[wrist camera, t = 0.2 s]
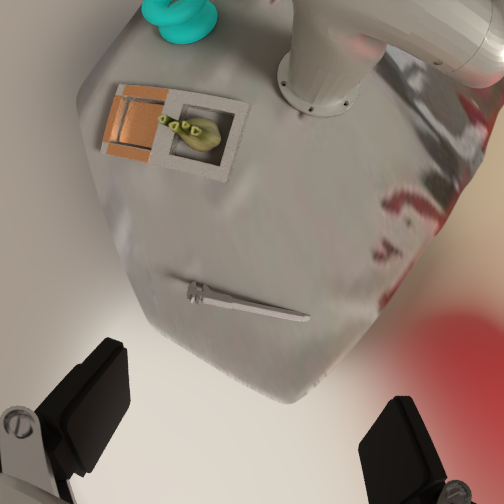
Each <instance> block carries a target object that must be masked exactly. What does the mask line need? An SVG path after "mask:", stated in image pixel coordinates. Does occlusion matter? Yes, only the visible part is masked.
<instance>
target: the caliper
mask: <svg viewBox="0 0 504 504" xmlns="http://www.w3.org/2000/svg"><path fill="white" fill-rule="evenodd" d="M187 299H190V300H191V302H190V303H193V302H194V301H196V303H197V304H198V305H199V303H200V301H202V303H206V304H210V305H215V306H219V307H224V308H229V309H231V308H235V309H239V310H244V311H249V312H253V313H258V314H263V315H268V316H273V317H278V318H284V319H289V320H294V321H300V322H303V321H309V319H310V317H311V316H310V315H304V314H303V313H299V312H296V311H291V310H286V309H281V308H276V307H271V306H266V305H261V304H256V303H252V302H247V301H243V300H238V299H234V298H232V297H231V296H230V295H224V294H221V293H212V292H211V291H210V289H209V288H208V286H207V284H203V288H202V291H199V290H196V281H193V282H192V283H191V284H190V286H189V287H188V291H187Z"/></svg>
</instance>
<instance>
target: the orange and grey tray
mask: <svg viewBox="0 0 504 504" xmlns="http://www.w3.org/2000/svg"><path fill="white" fill-rule="evenodd" d="M129 99H135V100H144V101H152V102H160V103H165V104H164V105H158V104H151V103H143V102H134V101H130V104H129V107H128V110H127V114H126V117H125V121H124V125H123V128H122V132H121V136H120V140H119V142H123V143H129V144H134V145H140V146H145V147H150V148H152V150H147V149H142V148H137V147H132V146H127V145H121V144H117V143H118V139H119V135H120V131H121V127H122V123H123V120H124V116H125V113H126V109H127V106H128V103H129ZM188 107H191V108H197V109H202V110H207V111H212V112H217V113H222V114H226V115H231V116H234V120H233V123H232V126H231V130H230V133H229V136H228V140H227V143H226V147H225V150H224V154H223V157H222V161H221V164H220V166H217V165H213V164H209V163H205V162H201V161H197V160H193V159H188V158H184V157H180V156H175V151H176V148H177V144H178V140H179V137H180V135H179V134H178V133H175V132H172V130H171V129H170V128H169V127H167V126H165V125H162V124H160V122H159V121H158V120H157V118H158V116H160V115H162V114H165V115H167V116H169V117H171V118H173V119H176V120H178V121H184V119H185V116H186V113H187V110H188ZM250 109H251V106H250V104H249V103H245V102H241V101H237V100H232V99H227V98H222V97H217V96H212V95H206V94H201V93H195V92H188V91H182V90H175V89H167V88H159V87H149V86H138V85H125V84H119V86H118V89H117V92H116V95H115V97H114V100H113V103H112V106H111V110H110V113H109V117H108V120H107V124H106V128H105V132H104V136H103V140H102V146H101V151H100V154H105V155H110V156H115V157H120V158H125V159H130V160H134V161H139V162H144V163H148V164H153V165H157V166H161V167H166V168H170V169H174V170H178V171H182V172H186V173H190V174H194V175H198V176H202V177H206V178H210V179H214V180H217V181H221V182H225V183H228V182H229V181H230V177H231V173H232V170H233V166H234V163H235V159H236V156H237V152H238V149H239V146H240V142H241V139H242V135H243V132H244V129H245V125H246V122H247V119H248V115H249V112H250Z"/></svg>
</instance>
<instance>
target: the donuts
mask: <svg viewBox="0 0 504 504" xmlns="http://www.w3.org/2000/svg"><path fill="white" fill-rule="evenodd" d="M172 1H173V0H143V3H142V14H143V17H144V18H145V19H146V20H147V21H148V22H149V23H151V24H153V25H156V26H158V28H159V32H160V34H161V36H162V37H163V38H164V39H165V40H167V41H168V42H171V43H174V44H189V43H193V42H196V41H198V40H200V39H202V38H203V37H205V36H206V35H207V34H209V33H210V32H211V31H212V29H213V28H214V26H215V25H216V22H217V17H218V14H217V10H216V8H215V6H214V5H213V4H212V3H211V2H210V1H208V0H179V1H176V2H175V3H173V4H171V5H170V6H169V7H168V5H169V4H170V3H171V2H172Z"/></svg>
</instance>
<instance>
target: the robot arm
mask: <svg viewBox="0 0 504 504" xmlns="http://www.w3.org/2000/svg"><path fill="white" fill-rule="evenodd" d="M292 2H293V11H294V15H293V28H292V38H291V48H290V51H289V52H288V53H287V54H285V56H284V57H283V58H282V60H281V62H280V64H279V66H278V71H277V80H278V86H279V89H280V91H281V93H282V95H283V97H284V98H285V99H286V100H287V102H288V103H289V104H290V105H292V106H293V107H294V108H295V109H297V110H299V111H300V112H302V113H304V114H307V115H310V116H315V117H332V116H336V115H338V114H341V113H343V112H344V111H346V110H347V109H349V108H350V107H351V106H352V105H353V103H354V102H355V101H356V99H357V97H358V95H359V91H360V81H361V80H362V79H363V78H364V77H365V76H366V75H367V74H368V72H369V71H370V70H371V69H372V68H373V67H374V66H375V65H376V64H377V63H378V62H379V61H380V59H381V58H382V56H383V55H384V53H385V50H386V47H387V44H389V45H392V46H395V47H397V48H399V49H401V50H403V51H405V52H407V53H409V54H411V55H413V56H415V57H416V58H418V59H420V60H422V61H424V62H425V63H427V64H429V65H430V66H432V67H434V68H435V69H437V70H439V71H441V72H442V73H444V74H445V75H447V76H449V77H450V78H452V79H454V80H455V81H457V82H459V83H461V84H463V85H466V86H468V87H472V88H485V87H488V86H491V85H493V84H495V83H496V82H497V81H499V80H500V79H501V78H502V77H503V76H504V0H292ZM282 84H285V86H282ZM344 103H345V104H346V106H344ZM309 109H311V110H312V111H311V112H310V111H309ZM130 401H131V400H130V388H129V375H128V356H127V349H126V348H124V346H123V343H122V342H120V341H117V340H114V339H111V338H109V337H107V338H105V339H104V340H103V341H102V342H101V343H100V344H99V345H98V346H97V347H96V349H95V350H94V351H93V352H92V353H91V354H90V355H89V356H88V357H87V358H86V359H85V360H84V362H83V363H82V364H78V365H76V366H75V367H74V368H73V369H72V370H71V371H70V372H69V373H68V374H67V375H66V376H65V378H64V379H63V380H62V381H61V382H60V383H59V384H58V385H57V386H56V387H55V389H54V390H53V391H52V392H51V393H50V394H49V395H48V397H46V399H45V400H44V401H43V402H42V403H41V404H40V405H39V407H38V408H37V409H36V410H35V411H34V412H33V411H32V410H30V409H29V408H26V407H24V406H13V407H10V408H8V409H6V410H5V411H4V412H3V413H2V415H1V417H0V504H77V503H76V500H75V497H74V494H73V492H72V489H71V485H70V482H69V479H70V478H71V476H72V475H73V473H76V474H77V475H79V476H81V477H84V475H85V474H86V472H87V473H91V472H92V470H93V469H94V467H95V465H96V463H97V462H98V460H99V458H100V456H101V454H102V453H103V451H104V449H105V447H106V446H107V444H108V442H109V441H110V439H111V437H112V435H113V434H114V432H115V430H116V428H117V427H118V425H119V423H120V422H121V420H122V418H123V416H124V415H125V413H126V411H127V409H128V408H129V405H130ZM358 451H359V456H360V461H361V465H362V471H363V475H364V481H365V486H366V491H367V496H368V501H369V504H476V503H474V502H472V501H471V499H472V494H471V490H470V488H469V487H468V485H467V484H466V483H464V482H463V481H460V480H451V481H449V482H447V483H445V480H446V479H447V475H446V473H445V470H444V468H443V465H442V463H441V461H440V458H439V456H438V454H437V451H436V449H435V447H434V444H433V442H432V440H431V438H430V435H429V433H428V431H427V429H426V427H425V424H424V422H423V420H422V418H421V416H420V414H419V412H418V410H417V408H416V406H415V404H414V402H413V399H412V398H411V397H410V396H395V397H394V398H393V399H391V400H390V401H389V402H388V404H387V405H386V407H385V408H384V410H383V411H382V413H381V414H380V415H379V417H378V418H377V420H376V421H375V423H374V424H373V426H372V427H371V429H370V430H369V431H368V433H367V434H366V435H365V437H364V438H363V440H362V441H361V442H360V444H359V448H358Z"/></svg>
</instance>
